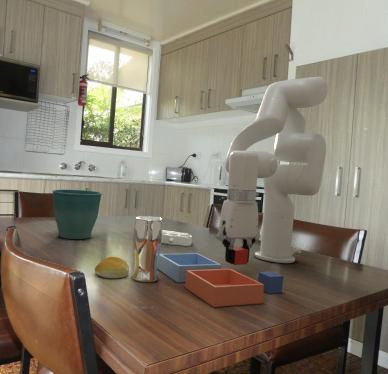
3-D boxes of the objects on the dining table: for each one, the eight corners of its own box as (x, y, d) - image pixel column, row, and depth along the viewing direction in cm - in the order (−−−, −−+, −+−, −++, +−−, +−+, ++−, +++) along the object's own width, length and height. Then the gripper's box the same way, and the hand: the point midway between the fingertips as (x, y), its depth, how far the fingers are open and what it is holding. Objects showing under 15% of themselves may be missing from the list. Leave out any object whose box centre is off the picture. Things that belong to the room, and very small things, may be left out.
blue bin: (196, 267, 105) (197, 253, 105) (220, 280, 94) (221, 264, 94) (157, 268, 101) (158, 253, 101) (177, 282, 90) (178, 265, 89)
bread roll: (91, 277, 89) (92, 260, 89) (101, 267, 98) (102, 253, 98) (124, 281, 88) (125, 264, 88) (131, 271, 97) (132, 256, 96)
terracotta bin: (229, 285, 90) (230, 268, 90) (262, 303, 79) (264, 284, 79) (184, 287, 86) (186, 270, 86) (213, 307, 75) (215, 287, 75)
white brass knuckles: (197, 241, 145) (186, 248, 132) (155, 235, 152) (140, 240, 139) (198, 233, 145) (187, 238, 132) (155, 227, 152) (141, 231, 139)
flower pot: (75, 244, 125) (79, 194, 125) (39, 235, 135) (41, 189, 134) (108, 237, 141) (111, 193, 140) (73, 230, 150) (76, 189, 150)
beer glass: (150, 285, 86) (154, 221, 85) (125, 278, 90) (129, 217, 89) (164, 278, 92) (168, 218, 91) (140, 272, 96) (144, 215, 95)
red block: (238, 260, 105) (239, 246, 104) (247, 264, 101) (248, 249, 101) (226, 261, 103) (227, 247, 103) (235, 265, 100) (236, 250, 99)
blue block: (270, 287, 91) (271, 271, 91) (282, 292, 87) (283, 276, 87) (257, 288, 90) (258, 271, 90) (268, 293, 86) (269, 276, 86)
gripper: (257, 195, 107) (252, 257, 109) (207, 194, 101) (203, 260, 103) (275, 198, 100) (270, 264, 102) (223, 197, 94) (218, 267, 96)
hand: (236, 261), depth 102 cm, fingers closed on red block, 4 cm apart
